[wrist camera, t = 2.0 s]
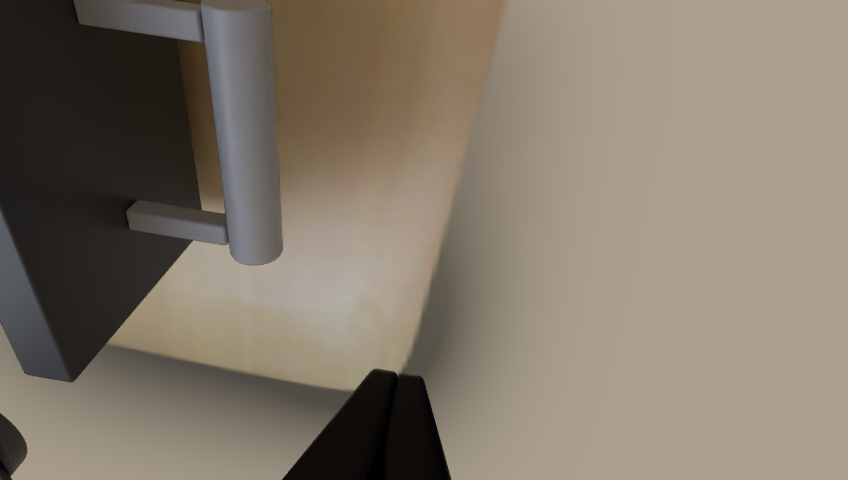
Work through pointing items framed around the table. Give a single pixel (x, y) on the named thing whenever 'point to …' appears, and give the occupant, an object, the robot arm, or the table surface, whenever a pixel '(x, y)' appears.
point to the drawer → (122, 161)
